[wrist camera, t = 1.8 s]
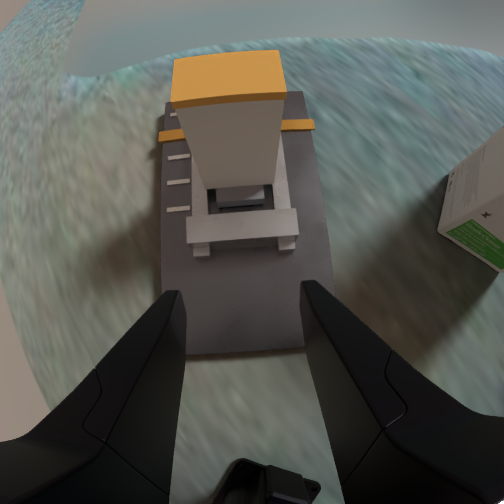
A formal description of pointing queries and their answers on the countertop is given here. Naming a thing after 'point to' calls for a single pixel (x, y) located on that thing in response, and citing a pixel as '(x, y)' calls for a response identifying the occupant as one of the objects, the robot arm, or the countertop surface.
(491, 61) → the countertop surface
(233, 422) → the countertop surface
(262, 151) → the fader
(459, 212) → the skincare box
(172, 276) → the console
